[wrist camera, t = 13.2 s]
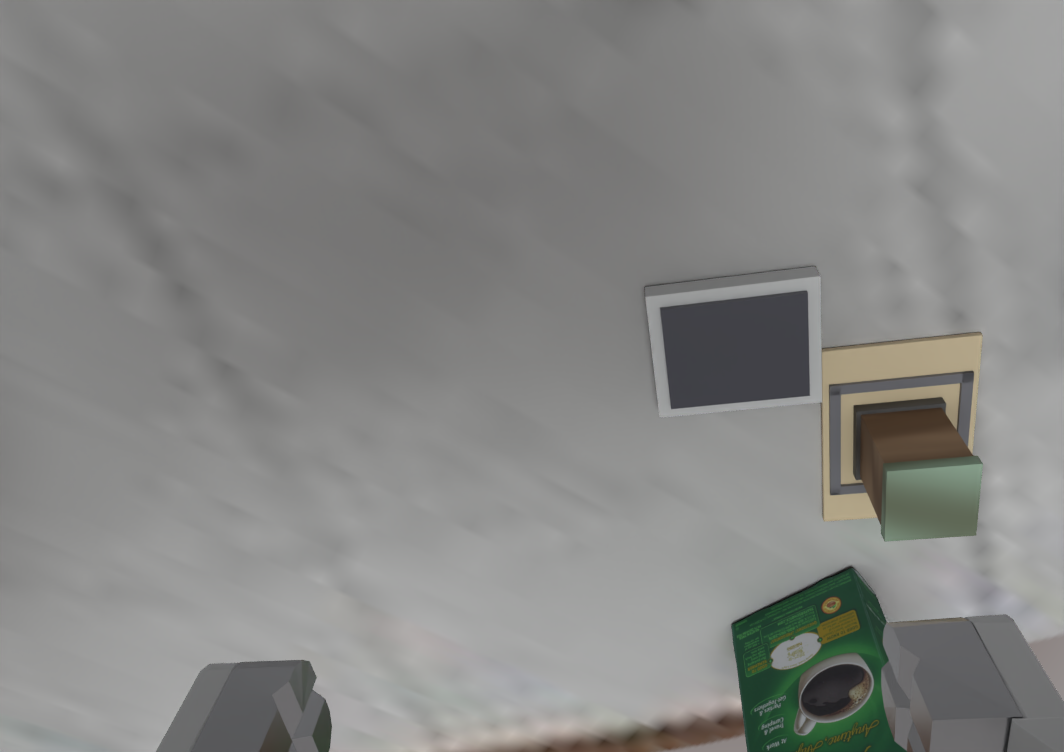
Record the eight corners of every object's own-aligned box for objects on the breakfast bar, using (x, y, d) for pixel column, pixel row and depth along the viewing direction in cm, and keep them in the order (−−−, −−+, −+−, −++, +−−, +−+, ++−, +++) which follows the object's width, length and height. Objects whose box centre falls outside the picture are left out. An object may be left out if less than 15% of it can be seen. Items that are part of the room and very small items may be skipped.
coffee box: (752, 653, 48) (791, 879, 37) (724, 623, 47) (755, 845, 36) (878, 595, 45) (963, 821, 34) (851, 562, 44) (929, 782, 33)
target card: (822, 517, 43) (824, 523, 43) (820, 349, 39) (823, 353, 38) (965, 507, 42) (968, 513, 42) (980, 332, 37) (984, 336, 37)
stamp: (853, 405, 40) (884, 469, 35) (941, 396, 39) (985, 461, 34) (852, 473, 41) (882, 543, 37) (937, 466, 41) (978, 536, 36)
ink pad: (658, 405, 41) (659, 421, 40) (644, 286, 38) (645, 299, 37) (816, 389, 40) (823, 405, 38) (815, 266, 37) (821, 278, 35)
